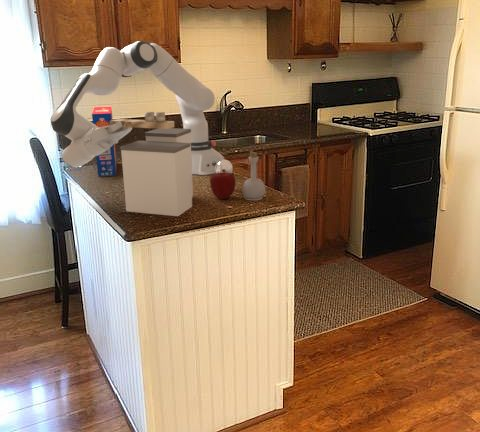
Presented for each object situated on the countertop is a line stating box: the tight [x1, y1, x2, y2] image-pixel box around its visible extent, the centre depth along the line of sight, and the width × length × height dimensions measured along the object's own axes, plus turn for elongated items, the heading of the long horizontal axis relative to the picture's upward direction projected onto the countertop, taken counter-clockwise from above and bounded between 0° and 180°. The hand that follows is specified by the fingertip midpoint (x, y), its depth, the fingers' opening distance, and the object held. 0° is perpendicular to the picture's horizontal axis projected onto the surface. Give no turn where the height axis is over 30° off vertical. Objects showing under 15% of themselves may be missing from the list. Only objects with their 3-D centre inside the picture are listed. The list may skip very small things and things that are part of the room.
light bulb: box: [215, 159, 234, 174], centre depth 210 cm, size 7×7×12 cm
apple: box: [209, 172, 236, 200], centre depth 197 cm, size 10×10×10 cm
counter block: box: [119, 127, 194, 217], centre depth 188 cm, size 20×24×26 cm
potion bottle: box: [241, 150, 267, 202], centre depth 195 cm, size 9×9×18 cm
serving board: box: [110, 111, 175, 129], centre depth 178 cm, size 22×6×5 cm, turn 71°
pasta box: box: [91, 106, 117, 177], centre depth 245 cm, size 28×8×28 cm, turn 13°
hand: (126, 121), depth 181 cm, fingers closed on serving board, 4 cm apart
